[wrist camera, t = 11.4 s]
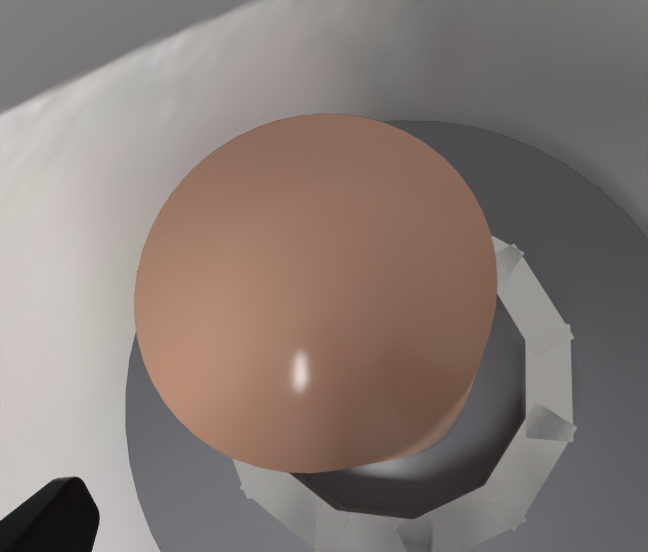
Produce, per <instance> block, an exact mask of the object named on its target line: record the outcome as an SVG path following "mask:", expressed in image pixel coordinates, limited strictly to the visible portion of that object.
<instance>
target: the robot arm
mask: <svg viewBox="0 0 648 552" xmlns="http://www.w3.org/2000/svg"><path fill="white" fill-rule="evenodd" d="M99 520H100V516H99V510H98V508H97V506H96V504H95V502H94V500H93V498H92V496H91V494H90V493H89V491H88V489H87V487H86V485H85V483H84V482H83V480H82V479H80V478H79V477H64V478H57V479H54V480H52V481H51V482H49V483H48V484H47V485H45V486H44V487H43V488H42V489H40V490H39V491H38V492H36V493H35V494H34V495H33V496H31V497H30V498H29V499H28V500H26V501H25V502H24V503H22V504H21V505H20V506H19V507H17V508H16V509H15V510H13V511H12V512H11V513H10V514H8V515H7V516H6V517H5V518H3V519H2V520H1V521H0V552H92V549H93V545H94V541H95V538H96V534H97V530H98V527H99Z"/></svg>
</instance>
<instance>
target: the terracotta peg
mask: <svg viewBox="0 0 648 552" xmlns="http://www.w3.org/2000/svg"><path fill="white" fill-rule="evenodd" d="M497 285H498V281H497V265H496V255H495V251H494V246H493V241H492V236H491V233H490V230H489V227H488V224H487V222H486V219H485V216H484V213H483V211H482V209H481V207H480V205H479V204H478V202H477V200H476V198H475V196H474V194H473V192H472V191H471V189H470V188H469V187H468V185H467V184H466V182H465V181H464V180H463V178H462V177H461V176H460V174H459V173H458V172H457V171H456V170H455V169H454V168H453V167H452V166H451V165H450V164H449V163H448V162H447V161H446V159H445V158H444V157H443V156H441V155H440V154H439V153H437V152H436V151H435V150H434V149H432V148H431V147H430V146H428V145H427V144H426V143H425V142H423V141H421V140H419V139H418V138H416V137H414V136H413V135H411V134H409V133H407V132H406V131H403V130H401V129H398V128H396V127H394V126H391V125H389V124H387V123H383V122H380V121H376V120H373V119H369V118H365V117H359V116H352V115H345V114H312V115H302V116H296V117H291V118H286V119H282V120H277V121H274V122H271V123H269V124H266V125H263V126H260V127H257V128H255V129H253V130H250V131H248V132H246V133H244V134H242V135H240V136H238V137H236V138H234V139H233V140H231V141H229V142H228V143H226V144H224V145H223V146H221V147H219V148H218V149H217V150H216V151H214V152H213V153H212V154H210V155H209V156H208V157H206V158H205V159H204V160H202V161H201V162H200V163H199V164H198V165H197V166H196V167H195V168H194V169H193V170H192V171H191V172H190V173H189V174H188V175H187V176H186V177H185V178H184V179H183V180H182V182H181V183H180V184H179V185H178V186H177V188H176V189H175V190H174V191H173V192H172V194H171V195H170V197H169V198H168V200H167V201H166V203H165V204H164V206H163V207H162V209H161V210H160V212H159V214H158V216H157V218H156V220H155V222H154V224H153V226H152V228H151V230H150V232H149V235H148V237H147V240H146V243H145V245H144V248H143V251H142V255H141V259H140V263H139V267H138V271H137V278H136V286H135V294H134V317H135V324H136V332H137V339H138V343H139V347H140V351H141V354H142V358H143V361H144V364H145V366H146V369H147V371H148V373H149V376H150V378H151V381H152V382H153V384H154V386H155V388H156V389H157V391H158V393H159V394H160V396H161V398H162V399H163V401H164V402H165V404H166V405H167V406H168V407H169V409H170V410H171V411H172V412H173V414H174V415H175V416H176V417H177V419H178V420H179V421H180V422H181V423H182V424H184V425H185V426H186V427H187V428H188V429H189V430H190V431H191V432H192V433H193V434H194V435H195V436H197V437H198V438H200V439H201V440H202V441H204V442H205V443H207V444H208V445H210V446H211V447H212V448H214V449H216V450H218V451H220V452H222V453H223V454H225V455H227V456H229V457H231V458H233V459H235V460H238V461H241V462H244V463H247V464H250V465H253V466H256V467H259V468H264V469H269V470H275V471H280V472H291V473H317V472H326V471H336V470H342V469H347V468H352V467H358V466H363V465H369V464H374V463H380V462H385V461H390V460H396V459H401V458H406V457H410V456H414V455H417V454H419V453H422V452H424V451H426V450H428V449H430V448H432V447H433V446H435V445H436V444H438V443H439V442H440V441H441V440H443V439H444V438H445V437H446V436H447V435H448V434H449V433H450V432H451V430H452V429H453V428H454V426H455V425H456V424H457V422H458V420H459V419H460V417H461V415H462V413H463V411H464V408H465V405H466V403H467V400H468V397H469V394H470V391H471V388H472V385H473V382H474V379H475V376H476V373H477V370H478V367H479V364H480V362H481V359H482V356H483V353H484V350H485V347H486V344H487V341H488V338H489V335H490V331H491V327H492V322H493V318H494V313H495V309H496V298H497Z"/></svg>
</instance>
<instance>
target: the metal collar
mask: <svg viewBox="0 0 648 552" xmlns="http://www.w3.org/2000/svg"><path fill="white" fill-rule="evenodd" d="M491 236H492V235H491ZM492 241H493V246H494V251H495V255H496V265H497V281H498V285H497V298H496V307H497V309H498V310H499V312H500V314H501V315H502V317H503V319H504V320H505V322H506V324H507V325H508V327H509V329H510V330H511V332H512V334H513V335H514V337H515V339H516V340H517V342H518V344H519V345H520V347H521V421H520V423H519V424H518V426H517V427H516V429H515V431H514V432H513V434H512V436H511V437H510V439H509V440H508V442H507V444H506V445H505V447H504V449H503V450H502V452H501V453H500V455H499V457H498V458H497V460H496V462H495V463H494V465H493V466H492V468H491V470H490V471H489V473H488V475H487V476H486V478H485V479H484V481H483V483H481V484H479V485H477V486H475V487H473V488H471V489H469V490H467V491H465V492H463V493H461V494H459V495H456V496H454V497H452V498H450V499H448V500H446V501H444V502H442V503H440V504H438V505H436V506H434V507H432V508H429V509H427V510H425V511H423V512H421V513H419V514H417V515H413V514H404V513H396V512H387V511H379V510H370V509H362V508H353V507H345V506H343V505H341V504H340V503H339V502H338V501H336V500H335V499H334V498H332V497H331V496H330V495H329V494H327V493H326V492H325V491H323V490H322V489H321V488H320V487H318V486H317V485H316V484H314V483H313V482H312V481H311V480H309V479H308V478H307V477H305V476H304V475H303V474H302V473H291V472H280V471H275V470H269V469H264V468H259V467H256V466H253V465H250V464H247V463H244V462H241V461H238V460H235V459H233V458H232V459H233V462H234V465H235V467H236V470H237V473H238V475H239V478H240V481H241V483H242V485H241V487H240V489H242V490H243V491H244V492H245V494H246V497H247V499H251V498H252V499H254V500H255V501H256V502H257V503H258V504H260V505H261V506H262V507H263V508H265V509H266V510H267V511H268V512H269V513H271V514H272V515H273V516H274V517H275V518H277V519H278V520H279V521H280V522H281V523H283V524H284V525H285V526H286V527H287V528H289V529H290V530H291V531H292V532H293V533H295V534H296V535H297V536H298V537H300V538H301V539H302V540H303V541H304V542H306V543H307V544H308V545H309V546H310V547H312V548H313V549H314V552H462V551H464V550H466V549H468V548H471V547H473V546H475V545H477V544H479V543H481V542H483V541H485V540H487V539H489V538H492V537H494V536H496V535H498V534H500V533H502V532H504V531H506V530H508V529H513V530H514V531H515V530H516V528H517V527H518V525H519V524H521V523H523V522H525V521H526V520H525V518H524V515H525V513H526V512H527V510H528V508H529V507H530V505H531V503H532V502H533V500H534V498H535V497H536V495H537V493H538V492H539V490H540V488H541V487H542V485H543V483H544V482H545V480H546V478H547V477H548V475H549V473H550V472H551V470H552V468H553V467H554V465H555V463H556V462H557V460H558V458H559V457H560V455H561V453H562V452H563V450H564V448H565V447H566V445H567V443H568V442H573V433H574V432H575V430H576V428H577V427H576V426H574V425H573V408H572V373H571V341H572V340H573V339H574V336H573V335H572V333H571V332H570V324H565V322H564V321H563V319H562V317H561V316H560V314H559V313H558V311H557V310H556V308H555V306H554V305H553V303H552V302H551V300H550V299H549V297H548V295H547V294H546V292H545V291H544V289H543V288H542V286H541V284H540V283H539V281H538V280H537V278H536V277H535V275H534V274H533V272H532V270H531V269H530V267H529V266H528V264H527V263H526V261H525V259H524V258H523V255H524V252H522V251H520V250H518V248H517V247H516V245H515V244H513V245H509V244H507V243H505V242H503V241H501V240H499V239H498V238H496V237H494V236H492Z"/></svg>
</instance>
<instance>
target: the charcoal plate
mask: <svg viewBox="0 0 648 552" xmlns="http://www.w3.org/2000/svg"><path fill="white" fill-rule="evenodd" d="M383 123H387V124H389V125H391V126H394V127H396V128H398V129H401V130H403V131H406V132H407V133H409V134H411V135H413V136H414V137H416V138H418V139H419V140H421V141H423V142H425V143H426V144H427V145H428V146H430V147H431V148H432V149H434V150H435V151H436V152H437V153H439V154H440V155H441V156H443V157H444V158H445V159H446V161H447V162H448V163H449V164H450V165H451V166H452V167H453V168H454V169H455V170H456V171H457V172H458V173H459V174H460V176H461V177H462V178H463V180H464V181H465V182H466V184H467V185H468V187H469V188H470V189H471V191H472V192H473V194H474V196H475V198H476V200H477V202H478V204H479V205H480V207H481V209H482V211H483V213H484V216H485V219H486V222H487V224H488V227H489V230H490V233H491V235H492V236H494V237H496V238H498V239H499V240H501V241H503V242H505V243H507V244H509V245H513V244H515V245H516V247H517V248H518V250H520V251H522V252H524V255H523V258H524V259H525V261H526V263H527V264H528V266H529V267H530V269H531V270H532V272H533V274H534V275H535V277H536V278H537V280H538V281H539V283H540V284H541V286H542V288H543V289H544V291H545V292H546V294H547V295H548V297H549V299H550V300H551V302H552V303H553V305H554V306H555V308H556V310H557V311H558V313H559V314H560V316H561V317H562V319H563V321H564V322H565V324H570V332H571V333H572V335H573V336H574V339H573V340H572V341H571V373H572V408H573V425H574V426H576V427H577V428H576V430H575V432H574V433H573V442H568V443H567V445H566V447H565V448H564V450H563V452H562V453H561V455H560V457H559V458H558V460H557V462H556V463H555V465H554V467H553V468H552V470H551V472H550V473H549V475H548V477H547V478H546V480H545V482H544V483H543V485H542V487H541V488H540V490H539V492H538V493H537V495H536V497H535V498H534V500H533V502H532V503H531V505H530V507H529V508H528V510H527V512H526V513H525V515H524V518H525V520H526V521H525V522H523V523H521V524H519V525H518V527H517V528H516V530H515V531H514V530H513V529H508V530H506V531H504V532H502V533H500V534H498V535H496V536H494V537H492V538H489V539H487V540H485V541H483V542H481V543H479V544H477V545H475V546H473V547H471V548H468V549H466V550H464V551H462V552H648V238H647V237H646V236H645V235H644V234H643V233H642V231H641V230H640V229H639V228H638V227H637V225H636V224H635V223H634V222H633V221H632V219H631V218H630V217H629V216H628V215H627V214H626V212H624V211H623V210H622V209H621V208H620V207H619V206H618V205H617V204H616V203H615V202H614V201H612V200H611V199H610V198H609V197H608V196H607V195H606V194H605V193H604V192H603V191H602V190H601V189H599V188H598V187H597V186H596V185H594V184H593V183H592V182H590V181H589V180H587V179H586V178H584V177H583V176H582V175H580V174H579V173H577V172H576V171H575V170H573V169H572V168H570V167H569V166H568V165H566V164H564V163H562V162H560V161H558V160H557V159H555V158H553V157H551V156H549V155H547V154H546V153H544V152H542V151H540V150H538V149H536V148H534V147H532V146H529V145H526V144H524V143H521V142H519V141H516V140H514V139H511V138H509V137H506V136H504V135H500V134H497V133H493V132H489V131H485V130H481V129H478V128H474V127H470V126H464V125H457V124H449V123H442V122H435V121H393V122H383ZM520 421H521V347H520V345H519V344H518V342H517V340H516V339H515V337H514V335H513V334H512V332H511V330H510V329H509V327H508V325H507V324H506V322H505V320H504V319H503V317H502V315H501V314H500V312H499V310H498V309H497V307H496V309H495V313H494V318H493V322H492V327H491V331H490V335H489V338H488V341H487V344H486V347H485V350H484V353H483V356H482V359H481V362H480V364H479V367H478V370H477V373H476V376H475V379H474V382H473V385H472V388H471V391H470V394H469V397H468V400H467V403H466V405H465V408H464V411H463V413H462V415H461V417H460V419H459V420H458V422H457V424H456V425H455V426H454V428H453V429H452V430H451V432H450V433H449V434H448V435H447V436H446V437H445V438H444V439H443V440H441V441H440V442H439V443H438V444H436V445H435V446H433V447H432V448H430V449H428V450H426V451H424V452H422V453H419V454H417V455H414V456H410V457H406V458H401V459H396V460H390V461H385V462H380V463H374V464H369V465H363V466H358V467H352V468H347V469H342V470H336V471H326V472H317V473H302V474H303V475H304V476H305V477H307V478H308V479H309V480H311V481H312V482H313V483H314V484H316V485H317V486H318V487H320V488H321V489H322V490H323V491H325V492H326V493H327V494H329V495H330V496H331V497H332V498H334V499H335V500H336V501H338V502H339V503H340V504H341V505H343V506H345V507H353V508H362V509H370V510H379V511H387V512H396V513H404V514H413V515H417V514H419V513H421V512H423V511H425V510H427V509H429V508H432V507H434V506H436V505H438V504H440V503H442V502H444V501H446V500H448V499H450V498H452V497H454V496H456V495H459V494H461V493H463V492H465V491H467V490H469V489H471V488H473V487H475V486H477V485H479V484H481V483H483V481H484V479H485V478H486V476H487V475H488V473H489V471H490V470H491V468H492V466H493V465H494V463H495V462H496V460H497V458H498V457H499V455H500V453H501V452H502V450H503V449H504V447H505V445H506V444H507V442H508V440H509V439H510V437H511V436H512V434H513V432H514V431H515V429H516V427H517V426H518V424H519V423H520ZM126 435H127V444H128V452H129V461H130V466H131V470H132V474H133V479H134V483H135V487H136V491H137V495H138V499H139V502H140V504H141V507H142V510H143V512H144V515H145V518H146V520H147V523H148V526H149V528H150V531H151V534H152V536H153V538H154V540H155V541H156V543H157V545H158V547H159V549H160V551H161V552H314V549H313V548H312V547H310V546H309V545H308V544H307V543H306V542H304V541H303V540H302V539H301V538H300V537H298V536H297V535H296V534H295V533H293V532H292V531H291V530H290V529H289V528H287V527H286V526H285V525H284V524H283V523H281V522H280V521H279V520H278V519H277V518H275V517H274V516H273V515H272V514H271V513H269V512H268V511H267V510H266V509H265V508H263V507H262V506H261V505H260V504H258V503H257V502H256V501H255V500H254V499H252V498H251V499H247V497H246V494H245V492H244V491H243V490H242V489H240V487H241V485H242V483H241V481H240V478H239V475H238V473H237V470H236V467H235V465H234V462H233V459H232V458H231V457H229V456H227V455H225V454H223V453H222V452H220V451H218V450H216V449H214V448H212V447H211V446H210V445H208V444H207V443H205V442H204V441H202V440H201V439H200V438H198V437H197V436H195V435H194V434H193V433H192V432H191V431H190V430H189V429H188V428H187V427H186V426H185V425H184V424H182V423H181V422H180V421H179V420H178V419H177V417H176V416H175V415H174V414H173V412H172V411H171V410H170V409H169V407H168V406H167V405H166V404H165V402H164V401H163V399H162V398H161V396H160V394H159V393H158V391H157V389H156V388H155V386H154V384H153V382H152V381H151V378H150V376H149V373H148V371H147V369H146V366H145V364H144V361H143V358H142V354H141V351H140V347H139V343H138V339H137V332H136V334H135V338H134V342H133V346H132V351H131V355H130V360H129V368H128V377H127V385H126Z"/></svg>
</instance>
